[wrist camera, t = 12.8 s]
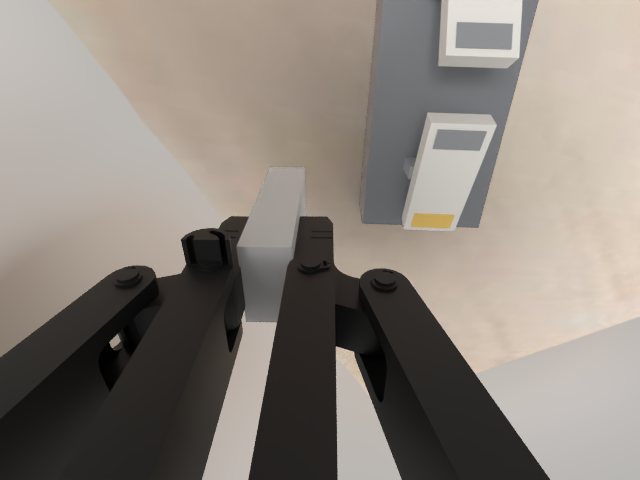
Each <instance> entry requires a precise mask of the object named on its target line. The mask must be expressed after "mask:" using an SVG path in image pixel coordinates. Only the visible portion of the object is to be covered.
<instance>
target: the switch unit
mask: <svg viewBox="0 0 640 480" xmlns="http://www.w3.org/2000/svg"><path fill="white" fill-rule="evenodd" d="M537 4H538V0H523V1H522V18H521V36H520V53H519V59H517V60H516V61H515V62H514V63H513V64H512V65H510V66H509V67H508V68H478V67H448V66H438V61H439V41H440V21H441V0H377V6H376V18H375V29H374V41H373V52H372V64H371V75H370V87H369V98H368V110H367V121H366V133H365V144H364V156H363V167H362V179H361V190H360V201H359V206H360V212H361V218H362V223H366V224H393V225H403V223H402V214H403V210H404V206H405V202H406V198H407V194H408V190H409V186H410V182H411V178H412V174H413V170H414V166H415V162H416V157H417V153H418V149H419V145H420V141H421V137H422V133H423V129H424V125H425V121H426V117H427V113H428V112H431V113H459V114H488V115H491V116H492V118H493V119H494V121H495V123H496V124H497V126H496V129H495V131H494V134H493V136H492V139H491V141H490V144H489V146H488V149H487V151H486V154H485V156H484V159H483V161H482V164H481V166H480V169H479V171H478V174H477V176H476V178H475V181H474V183H473V186H472V188H471V191H470V193H469V196H468V198H467V201H466V203H465V206H464V208H463V211H462V213H461V216H460V218H459V221H458V223H457V226H456V227H471V228H478V227H479V223H480V219H481V215H482V211H483V208H484V204H485V200H486V196H487V193H488V189H489V185H490V181H491V178H492V174H493V170H494V166H495V162H496V159H497V155H498V151H499V147H500V144H501V140H502V136H503V132H504V129H505V125H506V121H507V117H508V113H509V110H510V106H511V102H512V98H513V95H514V91H515V87H516V83H517V80H518V76H519V72H520V68H521V64H522V61H523V57H524V53H525V49H526V46H527V42H528V38H529V34H530V31H531V27H532V23H533V19H534V16H535V12H536V8H537Z"/></svg>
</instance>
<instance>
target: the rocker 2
mask: <svg viewBox="0 0 640 480" xmlns="http://www.w3.org/2000/svg"><path fill="white" fill-rule="evenodd" d="M496 126H497V124H496V123H495V121H494V119H493V118H492V116H491V115H488V114H459V113H431V112H428V113H427V117H426V121H425V125H424V129H423V133H422V137H421V141H420V145H419V149H418V153H417V157H416V162H415V166H414V170H413V174H412V178H411V182H410V186H409V190H408V194H407V198H406V202H405V206H404V210H403V214H402V223H403V229H405V230H431V231H455V228H456V226H457V223H458V221H459V218H460V216H461V213H462V211H463V208H464V206H465V203H466V201H467V198H468V196H469V193H470V191H471V188H472V186H473V183H474V181H475V178H476V176H477V174H478V171H479V169H480V166H481V164H482V161H483V159H484V156H485V154H486V151H487V149H488V146H489V144H490V141H491V139H492V136H493V134H494V131H495V129H496Z"/></svg>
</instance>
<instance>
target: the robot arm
mask: <svg viewBox="0 0 640 480" xmlns="http://www.w3.org/2000/svg"><path fill="white" fill-rule="evenodd" d="M181 242H182V247H183V251H184V255H185V260H186V266H185V268H184V270H183V271H182V273H181V274H178V275H172V276H167V277H161V278H156V275H155V272H154V271H153V269H152V268H149V267H147V266H128V267H124V268H122V269H119V270H117V271H115V272H113V273H111V274H110V275H108V276H107V277H105V278H104V279H103V280H101V281H100V282H99V283H97V284H96V285H95V286H93V287H92V288H91V289H89V290H88V291H87V292H86V293H84V294H83V295H82V296H80V297H79V298H78V299H77V300H75V301H74V302H73V303H71V304H70V305H69V306H67V307H66V308H65V309H63V310H62V311H61V312H59V313H58V314H57V315H55V316H54V317H53V318H52V319H50V320H49V321H48V322H46V323H45V324H44V325H42V326H41V327H40V328H38V329H37V330H36V331H35V332H33V333H32V334H31V335H29V336H28V337H27V338H25V339H24V340H23V341H21V342H20V343H19V344H17V345H16V346H15V347H14V348H12V349H11V350H10V351H8V352H7V353H6V354H4V355H3V356H2V357H0V480H202V477H203V473H204V470H205V466H206V463H207V459H208V455H209V452H210V448H211V445H212V441H213V437H214V434H215V430H216V427H217V423H218V420H219V416H220V412H221V409H222V406H223V402H224V398H225V395H226V391H227V388H228V384H229V380H230V377H231V373H232V370H233V366H234V363H235V359H236V355H237V352H238V348H239V344H240V341H241V338H242V333H243V332H242V331H243V330H242V329H243V328H242V322H241V319H242V316H243V312H244V309H245V317H246V322H277V326H276V331H275V337H274V342H273V348H272V353H271V359H270V364H269V370H268V375H267V381H266V386H265V392H264V397H263V403H262V408H261V413H260V419H259V425H258V430H257V435H256V441H255V446H254V452H253V457H252V463H251V469H250V474H249V479H248V480H337V418H336V417H337V415H336V346H337V347H340V348H344V349H347V350H350V351H354V353H355V359H356V361H357V364H358V366H359V369H360V372H361V374H362V377H363V379H364V382H365V385H366V387H367V390H368V392H369V395H370V398H371V400H372V403H373V405H374V408H375V411H376V413H377V416H378V419H379V421H380V424H381V426H382V429H383V432H384V434H385V437H386V439H387V442H388V445H389V447H390V450H391V452H392V455H393V458H394V460H395V463H396V465H397V468H398V471H399V473H400V476H401V478H402V480H550V479H549V477H548V476H547V475H546V473H545V472H544V470H543V469H542V468H541V466H540V465H539V463H538V462H537V460H536V459H535V458H534V456H533V455H532V454H531V452H530V451H529V449H528V448H527V446H526V445H525V444H524V442H523V441H522V439H521V438H520V437H519V435H518V434H517V433H516V431H515V430H514V428H513V427H512V425H511V424H510V422H509V421H508V420H507V418H506V417H505V415H504V414H503V413H502V411H501V410H500V408H499V407H498V406H497V404H496V403H495V401H494V400H493V399H492V397H491V396H490V394H489V393H488V392H487V390H486V389H485V387H484V386H483V384H482V383H481V382H480V380H479V379H478V378H477V376H476V375H475V373H474V372H473V370H472V369H471V368H470V366H469V365H468V363H467V362H466V361H465V359H464V358H463V356H462V355H461V354H460V352H459V351H458V349H457V348H456V346H455V345H454V344H453V342H452V341H451V339H450V338H449V337H448V335H447V334H446V332H445V331H444V330H443V328H442V327H441V325H440V324H439V323H438V321H437V320H436V318H435V317H434V316H433V314H432V313H431V311H430V310H429V308H428V307H427V306H426V304H425V303H424V301H423V300H422V299H421V297H420V296H419V294H418V293H417V292H416V290H415V289H414V287H413V286H412V285H411V283H410V282H409V280H408V279H407V278H406V277H405V276H404V275H402V274H400V273H398V272H396V271H394V270H390V269H373V270H369V271H367V272H365V273H364V274H362V276H361V278H360V279H358V278H354V277H351V276H347V275H345V274H343V273H341V272H340V271H339V270H338V269H337V268H336V267H335V265H334V258H333V223H332V222H331V221H330V220H329V218H328V217H307V216H306V184H305V167H270V169H269V171H268V173H267V176H266V178H265V181H264V183H263V185H262V188H261V190H260V192H259V195H258V197H257V199H256V202H255V204H254V206H253V209H252V211H251V213H250V216H249V217H240V216H231V217H229V218H228V219H227V220H225V221H224V222H222V224H221V225H220V227H219V229H215V228H208V229H200V230H196V231H193V232H191V233H189V234H187V235H185V236H184V237H183V238H182V239H181ZM117 334H118V335H119V337H120V340H121V342H120V343H119V344H118V345H117V346H115V347H114V348H111V346H110V343H109V342H110V340H112V339H113V338H114V337H115V336H116V335H117Z"/></svg>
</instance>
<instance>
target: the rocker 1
mask: <svg viewBox="0 0 640 480" xmlns="http://www.w3.org/2000/svg"><path fill="white" fill-rule="evenodd" d="M522 1H523V0H441V21H440V41H439V61H438V66H448V67H478V68H508V67H509V66H510V65H512V64H513V63H514V62H515V61H516V60H517V59H519V53H520V36H521V18H522Z"/></svg>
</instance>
